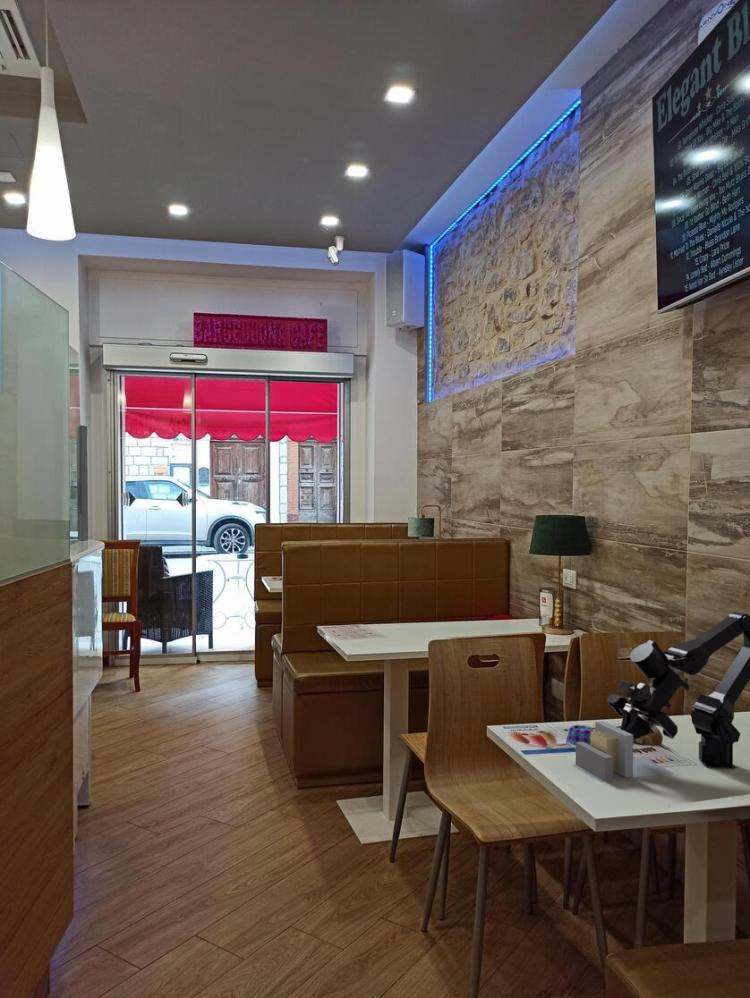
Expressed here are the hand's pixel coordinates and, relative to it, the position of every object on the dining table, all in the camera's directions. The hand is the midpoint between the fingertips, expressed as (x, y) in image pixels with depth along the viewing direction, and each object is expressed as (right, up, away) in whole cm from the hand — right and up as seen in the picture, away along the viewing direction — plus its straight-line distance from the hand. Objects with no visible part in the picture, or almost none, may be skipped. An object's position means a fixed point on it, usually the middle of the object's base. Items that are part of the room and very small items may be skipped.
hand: (618, 743), depth 167 cm
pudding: (-3, -8, +20) cm, 22 cm away
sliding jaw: (-1, -5, 0) cm, 6 cm away
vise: (+1, -7, 0) cm, 7 cm away
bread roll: (+13, -8, +23) cm, 28 cm away
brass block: (-4, -6, -1) cm, 7 cm away
